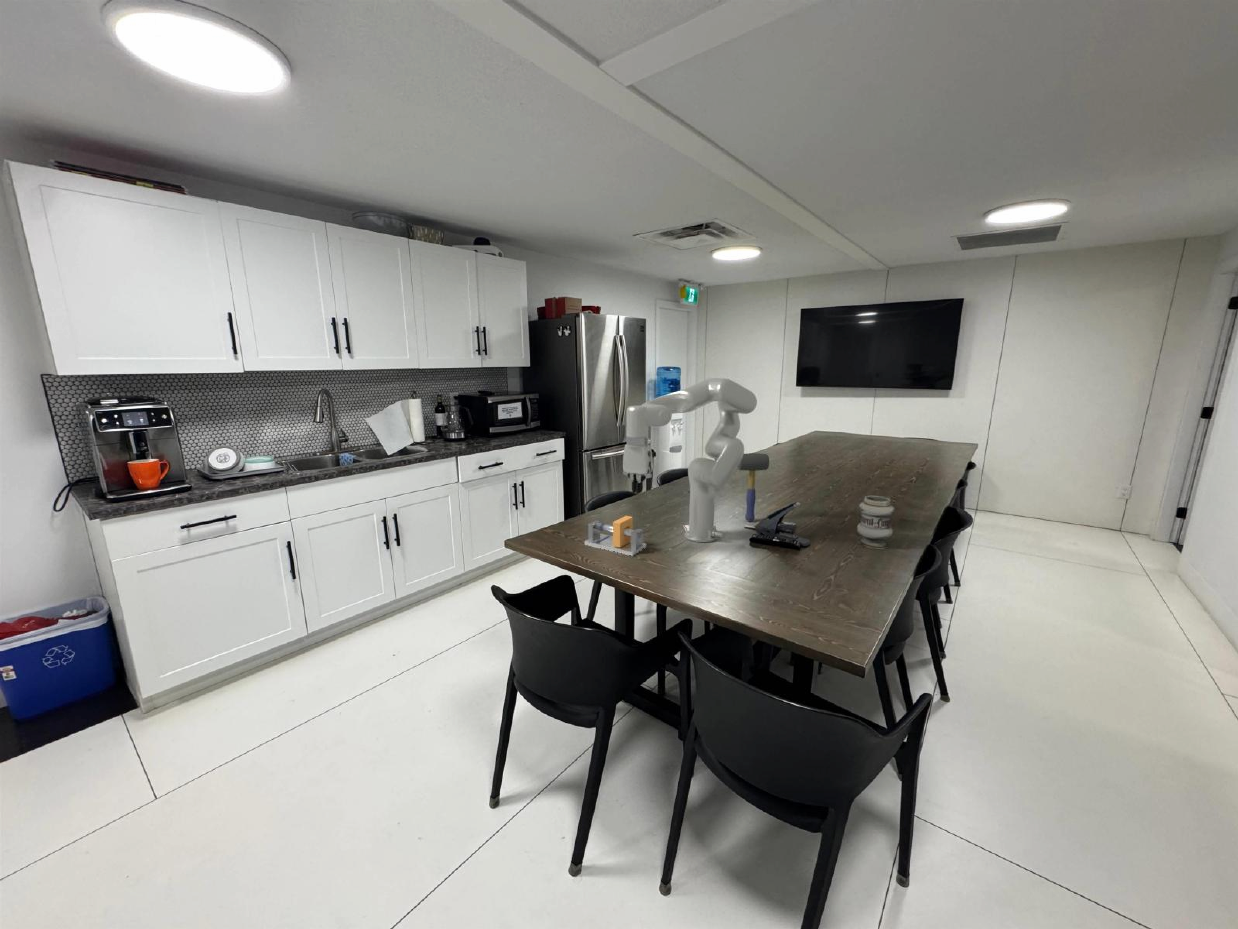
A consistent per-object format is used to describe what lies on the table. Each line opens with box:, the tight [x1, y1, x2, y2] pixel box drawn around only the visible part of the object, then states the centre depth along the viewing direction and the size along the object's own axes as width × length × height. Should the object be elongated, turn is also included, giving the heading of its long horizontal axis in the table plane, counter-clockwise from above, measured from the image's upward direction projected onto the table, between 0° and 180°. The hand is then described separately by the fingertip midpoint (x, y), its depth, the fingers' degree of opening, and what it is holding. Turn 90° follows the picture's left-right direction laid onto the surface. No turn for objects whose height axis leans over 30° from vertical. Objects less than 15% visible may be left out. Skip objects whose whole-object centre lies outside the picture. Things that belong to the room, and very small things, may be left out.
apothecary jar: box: [856, 495, 896, 550], centre depth 179 cm, size 12×12×18 cm
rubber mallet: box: [737, 452, 770, 522], centre depth 205 cm, size 12×8×30 cm, turn 90°
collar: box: [612, 515, 634, 547], centre depth 176 cm, size 3×9×9 cm, turn 147°
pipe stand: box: [584, 519, 647, 557], centre depth 179 cm, size 21×10×8 cm, turn 57°
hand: (637, 492), depth 170 cm, fingers closed
